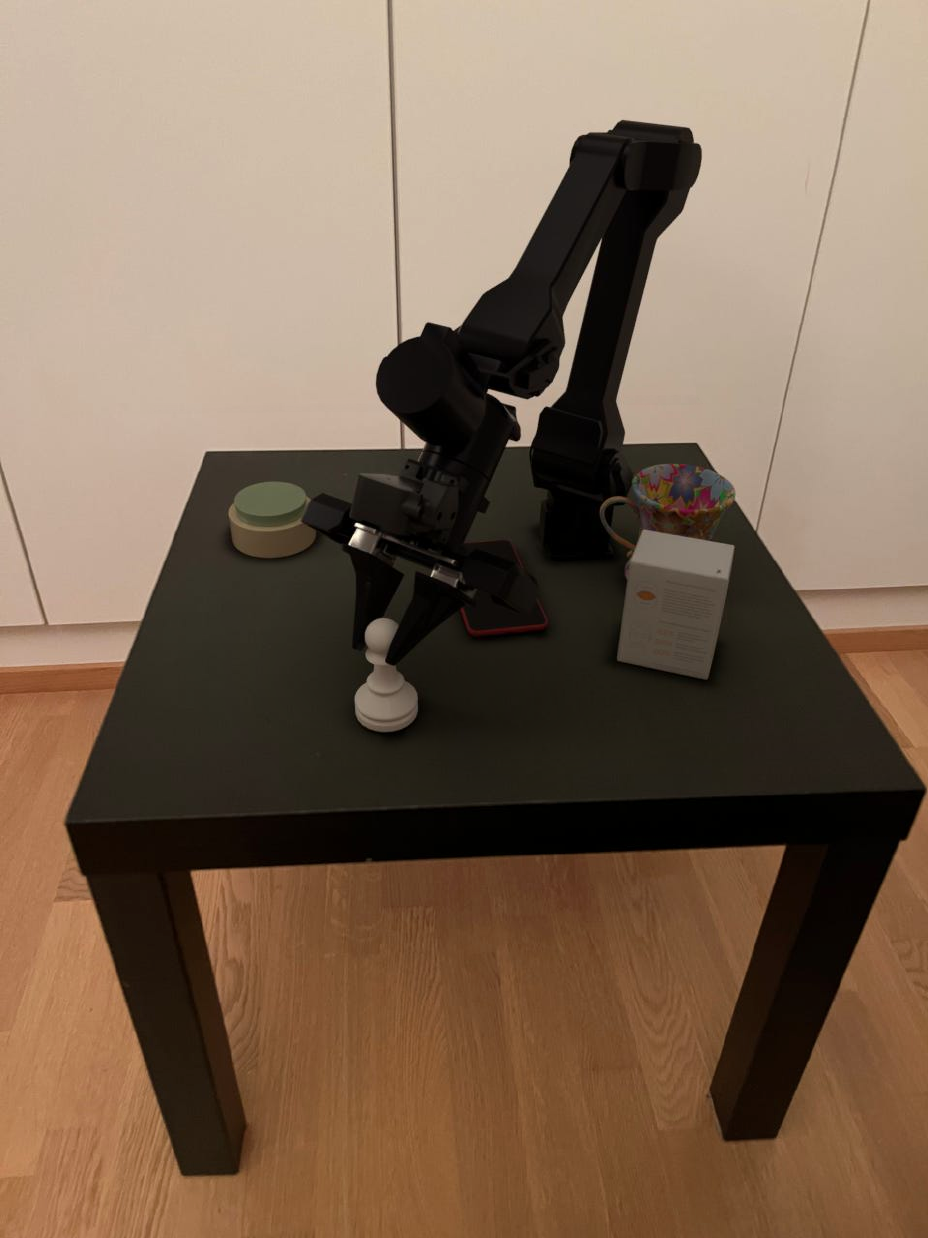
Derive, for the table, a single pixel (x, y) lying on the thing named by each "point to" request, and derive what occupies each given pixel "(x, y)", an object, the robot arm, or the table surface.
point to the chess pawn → (384, 685)
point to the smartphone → (495, 617)
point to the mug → (676, 502)
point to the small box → (674, 603)
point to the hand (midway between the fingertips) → (372, 657)
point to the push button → (270, 520)
